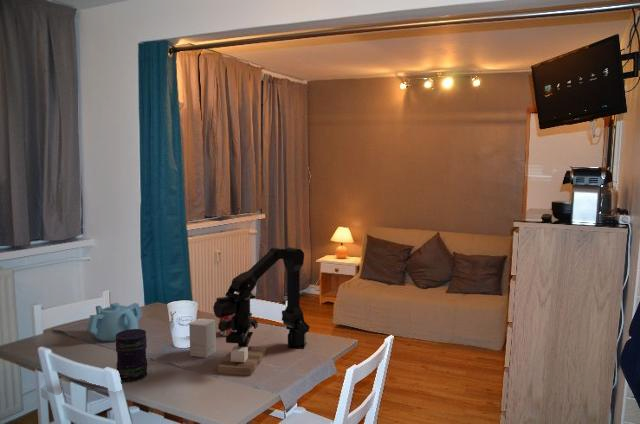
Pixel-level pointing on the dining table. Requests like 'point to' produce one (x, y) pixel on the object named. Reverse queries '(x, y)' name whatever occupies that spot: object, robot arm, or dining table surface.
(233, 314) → the soda can
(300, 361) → the dining table surface
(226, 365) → the brown flat block
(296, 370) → the dining table surface
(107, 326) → the teapot
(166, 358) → the dining table surface
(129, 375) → the storage jar
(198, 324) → the supplement box
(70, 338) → the dining table surface
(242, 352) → the fader knob
